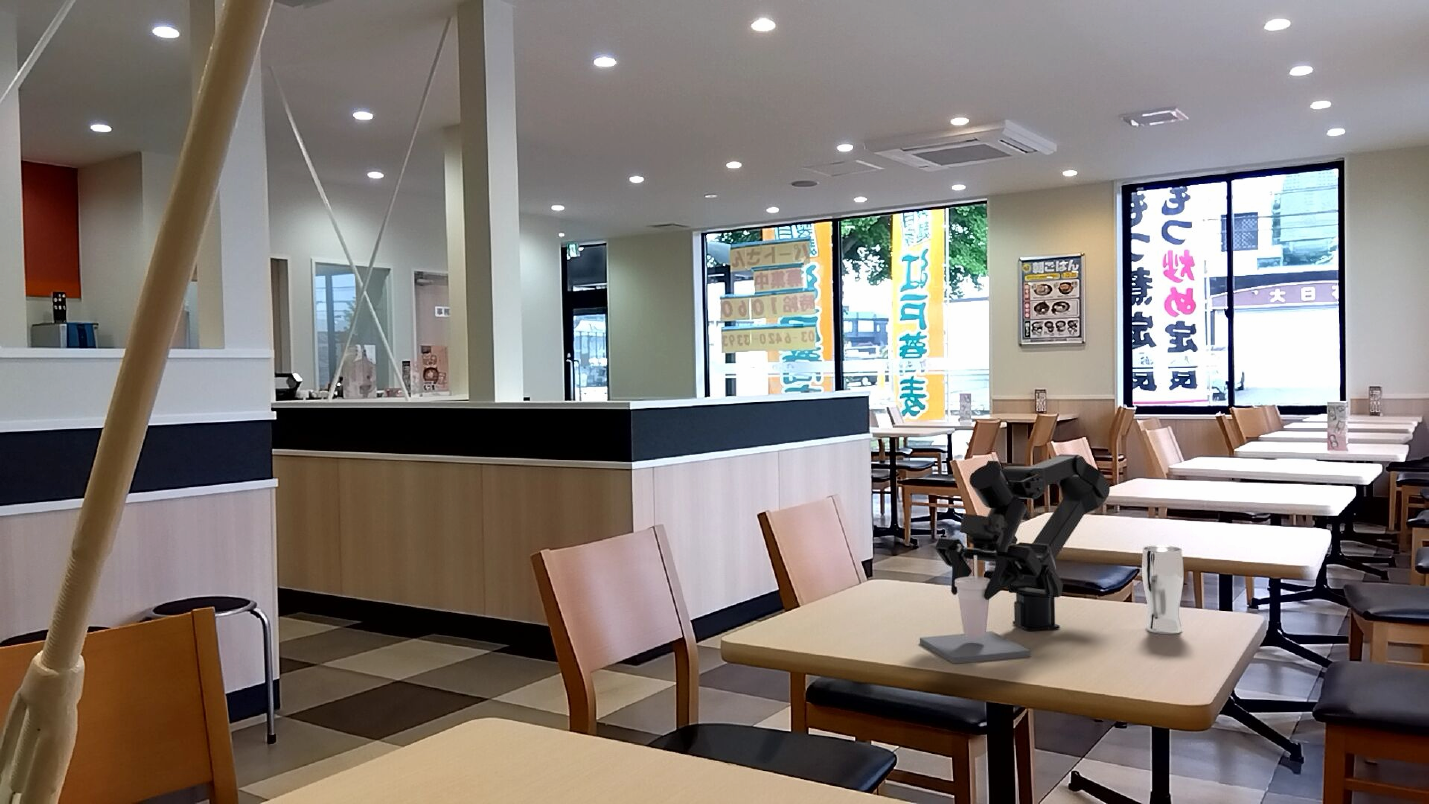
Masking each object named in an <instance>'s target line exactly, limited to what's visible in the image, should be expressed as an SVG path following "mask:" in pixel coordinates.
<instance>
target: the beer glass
mask: <svg viewBox="0 0 1429 804" xmlns="http://www.w3.org/2000/svg"><path fill="white" fill-rule="evenodd" d="M1182 551H1183V550H1182V548H1180V547H1178V546H1173V545H1172V546H1171V545H1148V546H1143V547H1142V560H1141V561H1142V562H1141V576H1142V583H1143V589H1144V593H1145V599H1146V603H1147V604H1146V605H1147V619H1146V624H1145V630H1146V631H1148V632H1149V633H1154V634H1159V635H1177V634H1180V633H1182V632H1183V628H1182V623H1181V617H1180V605H1181V599H1182V592H1183V587H1184V586H1183V585H1184V560H1183V553H1182Z"/></svg>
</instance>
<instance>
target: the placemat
mask: <svg viewBox="0 0 1429 804" xmlns="http://www.w3.org/2000/svg"><path fill="white" fill-rule="evenodd" d="M919 644H921V645H922V646H924V647H925V648H927V649H929V650H930V651H932V652H934V653H935V654H937V655H938V656H941V658H944V659H945V660H947V661H948V662H950V663H952V664H954V665H955V664H965V663H977V662H983V661H984V662H985V661H997V660H1006V659H1016V658H1017V659H1019V658H1028V657H1031V650H1030V649H1028V648H1026V647H1024V646H1023V645H1020V644H1018V643H1017V642H1015V641H1013V640H1010V639H1008V638H1006V637H1004V636H1003V635H1001V634H998V633H996V632H994V631H993V630H992V631H991V630H990V631H988V630H987V631H986V636H985V637H981V638H970V637H966V636H964V633H957V634H946V635H934V636H933V635H932V636H922V637H919Z"/></svg>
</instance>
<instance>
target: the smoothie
mask: <svg viewBox="0 0 1429 804" xmlns="http://www.w3.org/2000/svg"><path fill="white" fill-rule="evenodd" d="M973 566H974V567H973V568H974V569H973V571H974V573H973V574H974V576H969V577H961V578H957V579H955V586H956V587H957V597H958V604H959V611H960V612H959V613H960V617H961V625H962V631H963V634H964V636H966V637H970V638H981V637H985V636H986V632H987V627H988V617H989V615H988V614H989V605H990V599H989V600H986V599H985V598H984V594H985V591H986V588H987V586H988V583H989V581H990V579H991V578H988V577H983V576H979V575H978V573H979V572H978V570H979V569H978V560H977V555H974V559H973Z"/></svg>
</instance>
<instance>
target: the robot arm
mask: <svg viewBox="0 0 1429 804" xmlns="http://www.w3.org/2000/svg"><path fill="white" fill-rule="evenodd" d="M1108 481H1109V480H1108V479H1107V478H1106V476H1104V474H1103V472H1102V471H1101V470H1099V469H1098V468H1096V467H1095V466H1093V465H1092V464H1090V463H1089V462H1087V460H1086V459H1085V458H1084V456H1082V455H1080V454H1066V453H1060V454H1057V455H1055V457H1051V458H1049V459H1047V460H1046V459H1045V460H1044V461H1041V462H1038V463H1035V464H1033V465H1030V466H1005V467H1004V468H1002V466H1001V464H1000V462H999V461H998V460H988V461H987V462H986V464H985V465H982V466H979V467H978V468H977V469H975V470H974V471H973V472H972V473H971V474H970V476H969V484H970V486H971V487H972V489H973V491H974V492H975V494H976V495H977V497H978V498H979V499H980V501H981V503H982V504H983V505H984V507H986V508H988V509H989V512H988V515H987V516H985V515H980V514H969V513H964V514H963V515H962V519H961V521H960V527H959V533H961V534H964V535H966V536H968V539H967V541H968V542H969V543H970V544H972V545H973V546H972V547H970V546H969V547H968V546H964V544H963V543H962V541H961V539H959V538H954V537H952V538H951V537H946V536H945V537H939V538H938V539H937V541H936V543H935V545H934V547H933V548H934V549H935V551H936V553H938V555H939V556H940V559H942V561H943V562H944V563H945V565H947V566H948V567H951V585H950V586H951V587H950V588H951V589H950V592H951V594H952V595H953V596H956V595H958V593H957V587H956V586H955V579H957V578H961V577H970V575H971V574H972V572H973V569H972V568H971V567H970V566H969V562H970V560H974V555H977V561H980V562H985V563H986V562H988V563H992V564H993V563H995V564H994V565H995V566H994V570H993V573H992V574H991V577H990V578H989V579H990V581H989V583H988V586H987V588H986V591H985V594H984V598H985V599H986V600H989V601H990V599H992V598H993V597H994V596H996V595H997V594H998V593H999V592H1001V591H1003V590H1004V589H1005V588H1007V590H1008V594H1009V593H1010V594H1015V601H1014V602H1013V613H1014V614H1013V615H1014V619H1013V620H1012V624H1013V625H1014V626H1017V627H1019V628H1021V629H1024V630H1026V631H1029V632H1033V631H1043V630H1044V631H1045V630H1055V629H1060V624H1057V623H1056V612H1055V611H1056V609H1055V608H1056V605H1055V603H1056V602H1055V601H1056V600H1055V598H1060V597H1061V596H1062V594H1063V587H1064V582H1063V581H1062V580H1061V578H1060V576H1059V575H1058V573H1057V567H1056V558H1057V556H1059V554H1060V552H1061V551H1062V549H1063V548H1064V546H1065V545H1066V543H1067V542H1068V540H1069V539H1070V537H1071V535H1072V534H1073V532H1074V531H1075V530H1076V528H1077V526H1078V525H1079V524H1080V522H1081V520H1082V519H1083V518H1084V515H1086V514H1089V513H1090V512H1093V511H1096V510H1098V509H1099V508H1100V507H1101V506H1102V505H1103V504H1104V503H1105V502H1106V500H1107V499H1108V497H1109V495H1110V489H1111V488H1110V483H1109V482H1108ZM1055 483H1056V485H1057V486H1058V489H1060V493H1061V497H1062V499H1061V501H1060V502H1059V504H1058V505H1057V507H1056V508H1055V509H1054V511H1053V512H1052V514H1051V515H1050V517H1049V518H1048V520H1047V522H1046V523H1045V524H1044V526H1043V527H1042V529H1041V530H1040V531H1039V532H1038V534H1037V535H1036V537H1035V539H1034V540H1033V541H1032V542H1031V543H1029V542H1024V541H1023V542H1021V541H1019V542H1018V538H1017V536H1016V534H1017V531H1018V529H1019V528H1020V527H1019V526H1020V525H1021V522H1022V521H1023V520H1024V521H1029V520H1030V519H1031V516H1030V515H1031V514H1030V512H1029V510H1028V506H1027V504H1025V502H1024V501H1023V500H1025V499H1026V500H1037V499H1038V498H1039V497H1040V496H1042V495H1043V494H1044V493H1046V487H1047V486H1050V485H1052V484H1055ZM1017 542H1018V543H1017Z"/></svg>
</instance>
